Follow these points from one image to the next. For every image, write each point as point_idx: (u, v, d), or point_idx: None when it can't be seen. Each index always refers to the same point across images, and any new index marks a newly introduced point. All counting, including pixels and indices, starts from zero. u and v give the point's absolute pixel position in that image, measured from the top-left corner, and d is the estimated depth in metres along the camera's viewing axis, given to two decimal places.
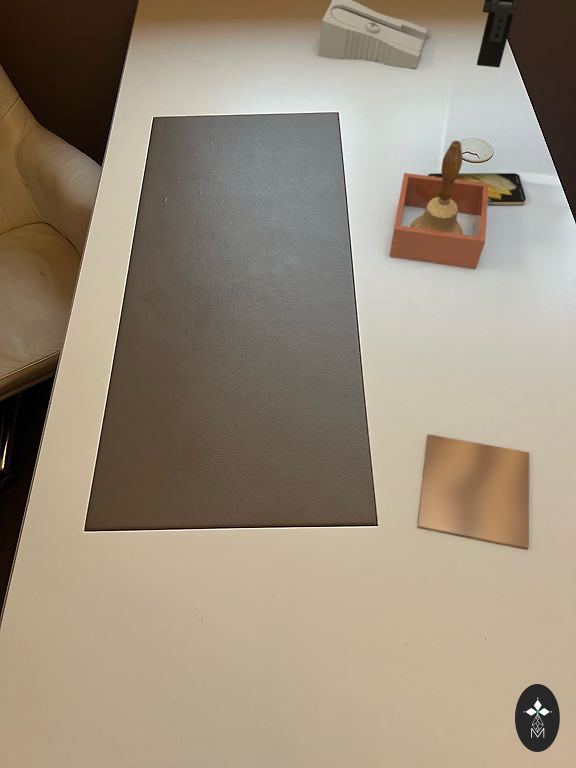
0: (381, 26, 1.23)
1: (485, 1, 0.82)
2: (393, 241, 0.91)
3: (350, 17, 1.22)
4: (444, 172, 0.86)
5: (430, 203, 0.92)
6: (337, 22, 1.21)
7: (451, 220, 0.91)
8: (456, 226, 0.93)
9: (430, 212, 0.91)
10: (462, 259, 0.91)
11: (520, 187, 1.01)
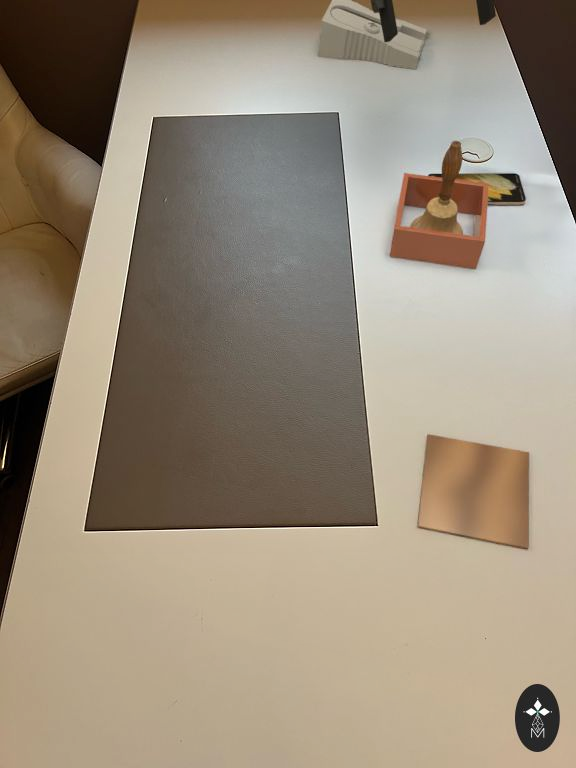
0: (381, 26, 1.23)
1: (478, 14, 0.82)
2: (393, 241, 0.91)
3: (350, 17, 1.22)
4: (444, 172, 0.86)
5: (430, 203, 0.92)
6: (336, 22, 1.21)
7: (451, 220, 0.91)
8: (456, 226, 0.93)
9: (430, 212, 0.91)
10: (462, 259, 0.91)
11: (520, 187, 1.01)
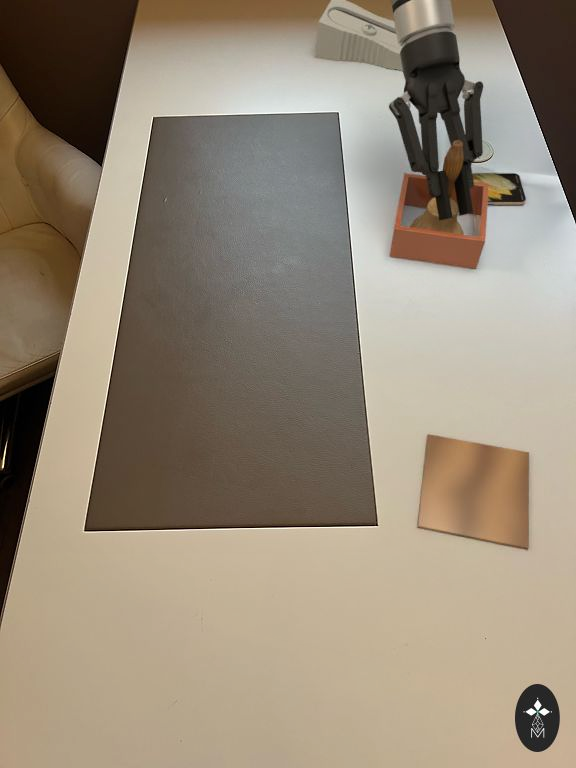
0: (378, 29, 1.23)
1: None
2: (393, 241, 0.91)
3: (347, 19, 1.22)
4: (445, 171, 0.86)
5: (431, 202, 0.92)
6: (334, 24, 1.20)
7: (451, 220, 0.91)
8: (456, 226, 0.93)
9: (431, 211, 0.91)
10: (462, 259, 0.91)
11: (520, 187, 1.01)
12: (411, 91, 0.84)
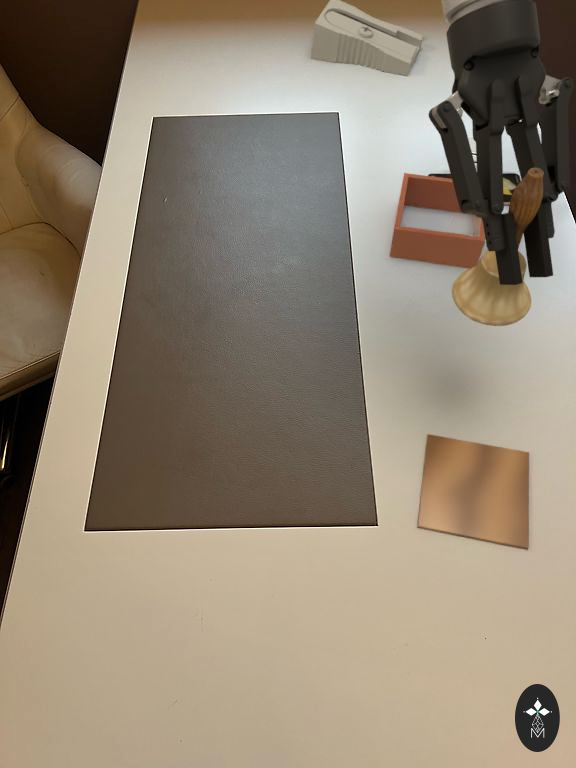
0: (375, 31, 1.22)
1: None
2: (393, 241, 0.91)
3: (344, 21, 1.22)
4: (513, 214, 0.56)
5: (486, 256, 0.62)
6: (330, 25, 1.20)
7: None
8: (523, 288, 0.64)
9: (487, 269, 0.62)
10: (462, 259, 0.91)
11: None
12: (464, 91, 0.54)
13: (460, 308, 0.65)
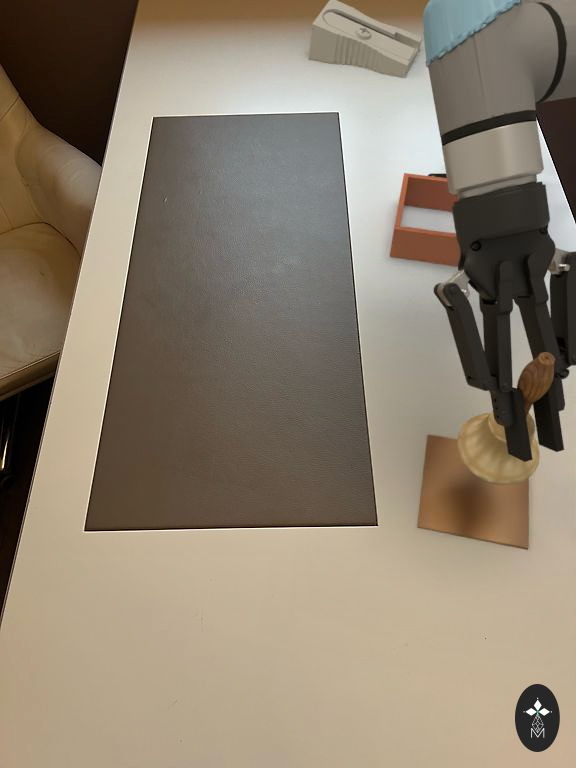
0: (373, 32, 1.22)
1: None
2: (393, 241, 0.91)
3: (342, 22, 1.21)
4: (523, 392, 0.54)
5: (493, 417, 0.60)
6: (327, 26, 1.20)
7: None
8: (531, 446, 0.62)
9: (494, 433, 0.59)
10: None
11: None
12: (471, 272, 0.52)
13: (466, 464, 0.63)
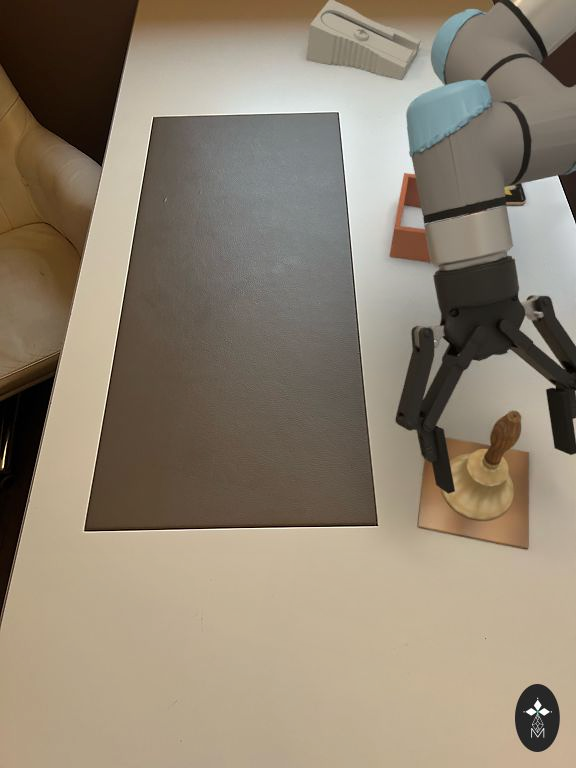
0: (371, 34, 1.22)
1: None
2: (393, 241, 0.91)
3: (340, 23, 1.21)
4: (495, 443, 0.62)
5: (471, 461, 0.68)
6: (325, 27, 1.20)
7: (499, 486, 0.67)
8: (505, 486, 0.69)
9: (472, 475, 0.67)
10: None
11: (520, 187, 1.01)
12: (450, 335, 0.59)
13: (448, 501, 0.70)
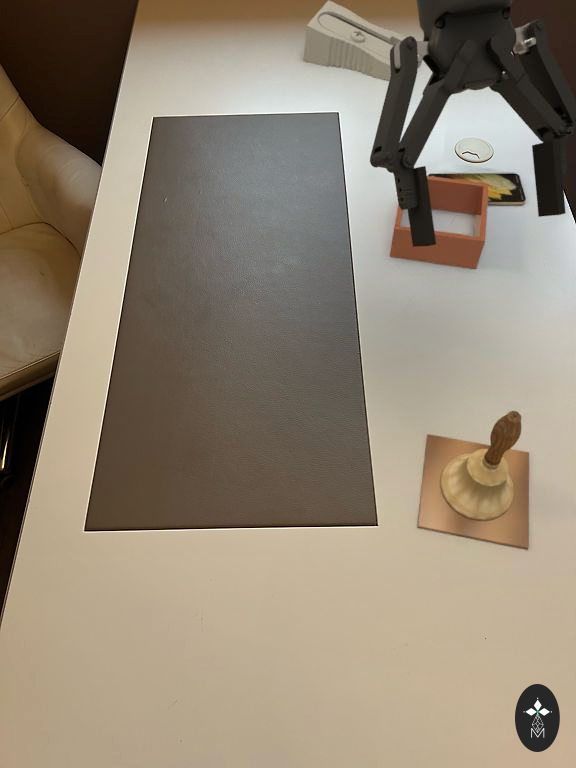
0: (368, 36, 1.21)
1: (537, 202, 0.59)
2: (393, 241, 0.91)
3: (337, 24, 1.21)
4: (495, 443, 0.62)
5: (471, 461, 0.68)
6: (322, 28, 1.19)
7: (499, 486, 0.67)
8: (505, 486, 0.69)
9: (472, 475, 0.67)
10: (462, 259, 0.91)
11: (520, 187, 1.01)
12: (435, 51, 0.51)
13: (448, 501, 0.70)
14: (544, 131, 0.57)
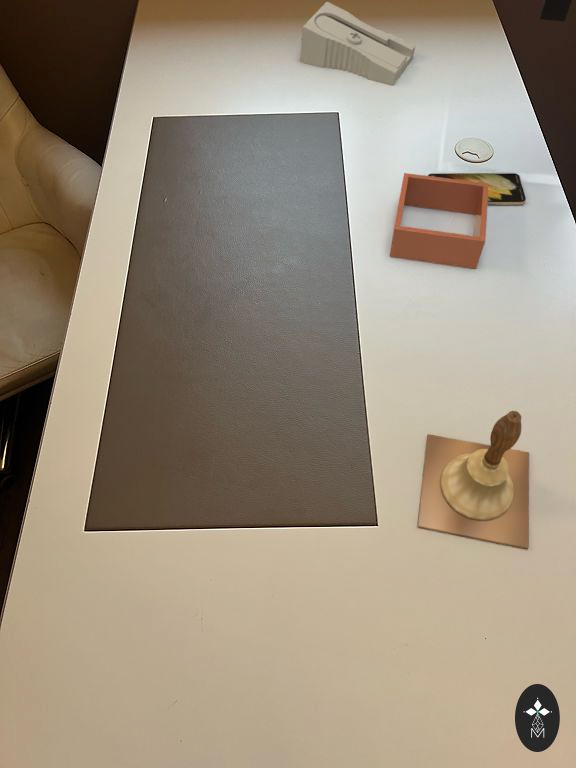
0: (365, 38, 1.21)
1: None
2: (393, 241, 0.91)
3: (334, 26, 1.21)
4: (495, 443, 0.62)
5: (471, 461, 0.68)
6: (318, 30, 1.19)
7: (499, 486, 0.67)
8: (505, 486, 0.69)
9: (472, 475, 0.67)
10: (462, 259, 0.91)
11: (520, 187, 1.01)
12: None
13: (448, 501, 0.70)
14: None
